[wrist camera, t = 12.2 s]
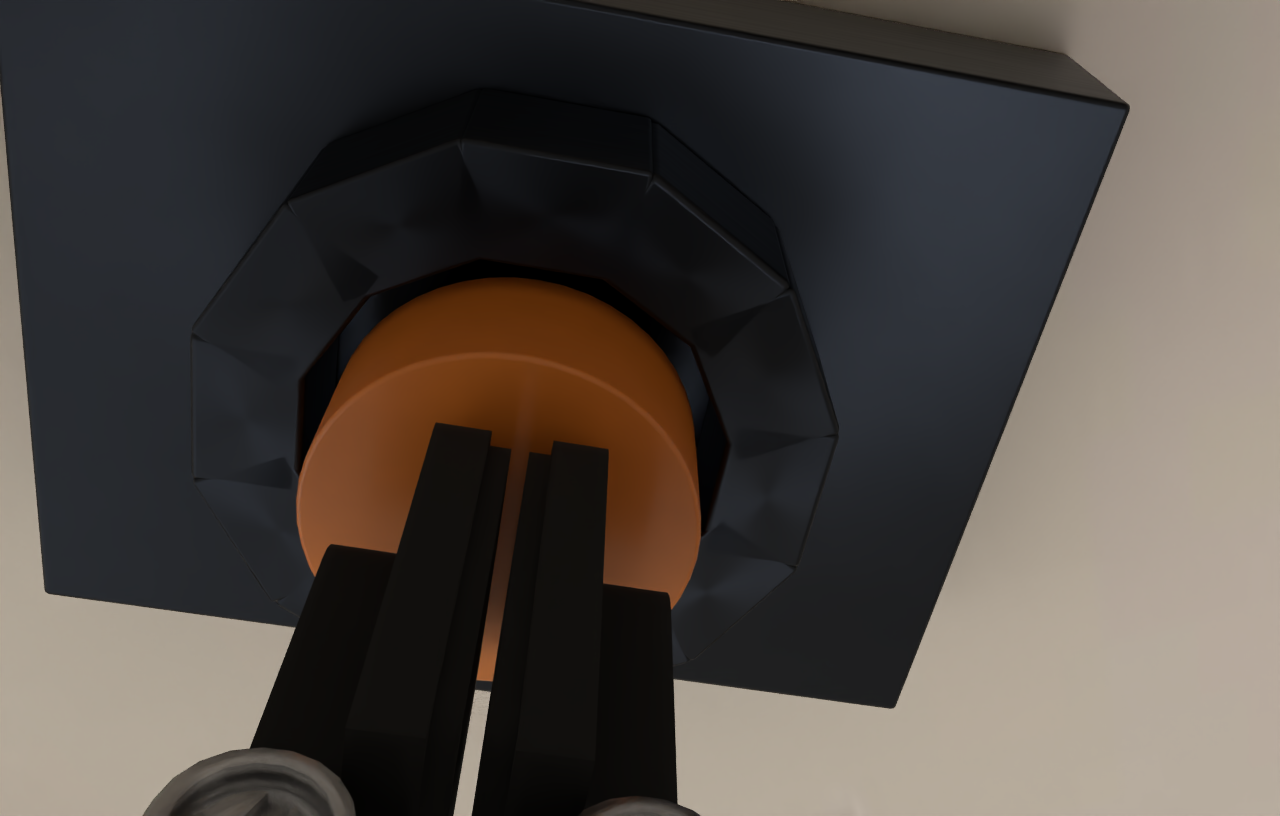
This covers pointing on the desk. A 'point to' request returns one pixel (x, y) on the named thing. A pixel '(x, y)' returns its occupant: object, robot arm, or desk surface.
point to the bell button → (509, 426)
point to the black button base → (542, 275)
